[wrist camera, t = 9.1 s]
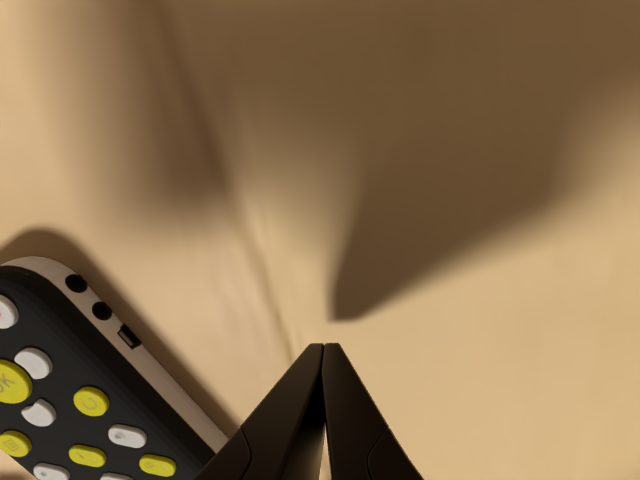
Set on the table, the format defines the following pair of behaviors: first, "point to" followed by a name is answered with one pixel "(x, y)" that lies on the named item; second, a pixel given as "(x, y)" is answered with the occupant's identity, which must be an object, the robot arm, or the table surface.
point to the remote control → (88, 387)
